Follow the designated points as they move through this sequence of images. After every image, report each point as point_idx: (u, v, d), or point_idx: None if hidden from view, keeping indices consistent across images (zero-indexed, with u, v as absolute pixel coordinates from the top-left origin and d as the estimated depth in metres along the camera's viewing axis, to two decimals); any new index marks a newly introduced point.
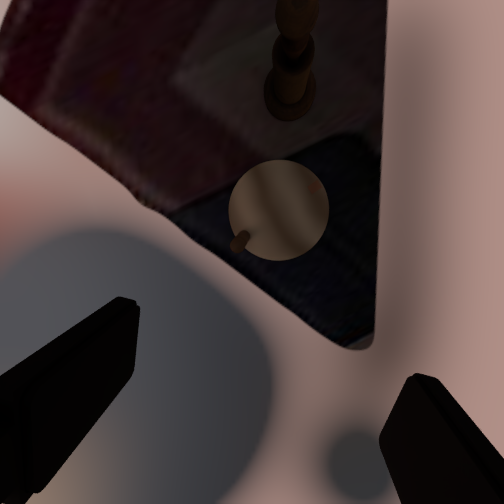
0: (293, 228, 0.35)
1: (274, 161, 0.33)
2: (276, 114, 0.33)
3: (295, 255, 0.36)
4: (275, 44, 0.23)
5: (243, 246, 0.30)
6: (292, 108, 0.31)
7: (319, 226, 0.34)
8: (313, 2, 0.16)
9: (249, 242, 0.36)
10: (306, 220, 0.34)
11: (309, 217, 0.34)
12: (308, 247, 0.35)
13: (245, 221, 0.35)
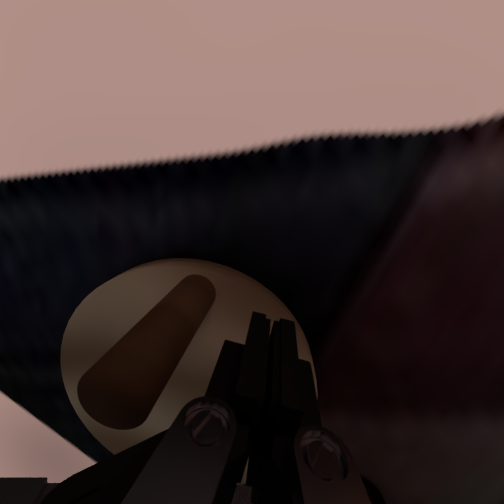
0: None
1: None
2: None
3: (67, 341, 0.13)
4: None
5: (93, 412, 0.06)
6: None
7: (95, 421, 0.14)
8: None
9: (172, 288, 0.12)
10: None
11: None
12: (66, 375, 0.14)
13: (225, 326, 0.12)
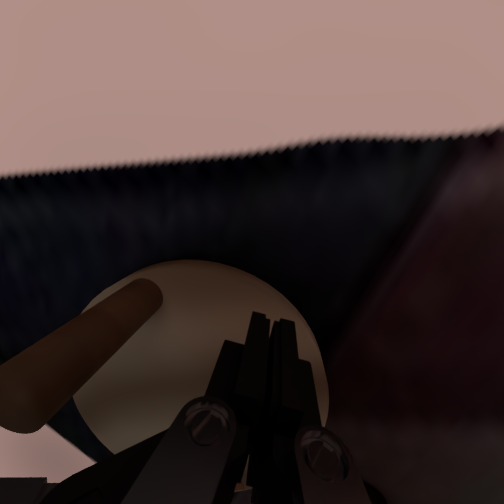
0: (144, 414, 0.14)
1: None
2: None
3: (77, 397, 0.14)
4: None
5: (9, 425, 0.06)
6: None
7: None
8: None
9: None
10: None
11: None
12: (94, 428, 0.14)
13: (186, 314, 0.12)
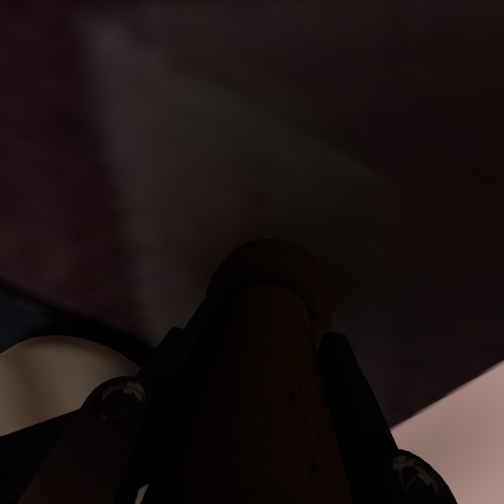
0: None
1: (62, 357, 0.13)
2: None
3: None
4: (199, 501, 0.04)
5: None
6: None
7: None
8: None
9: None
10: None
11: None
12: None
13: None
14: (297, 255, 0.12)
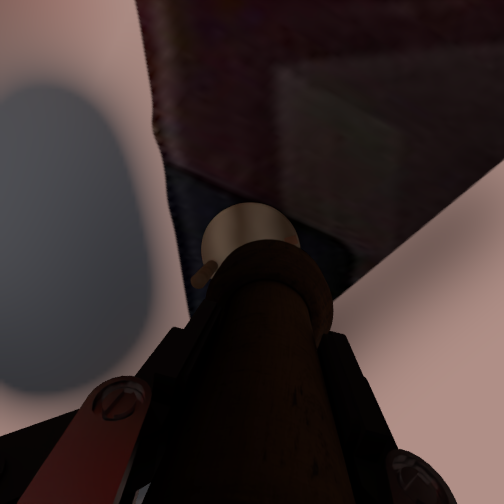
0: None
1: (259, 205, 0.32)
2: None
3: None
4: (201, 503, 0.03)
5: (203, 284, 0.30)
6: None
7: None
8: None
9: None
10: None
11: None
12: None
13: (216, 252, 0.35)
14: (297, 255, 0.12)
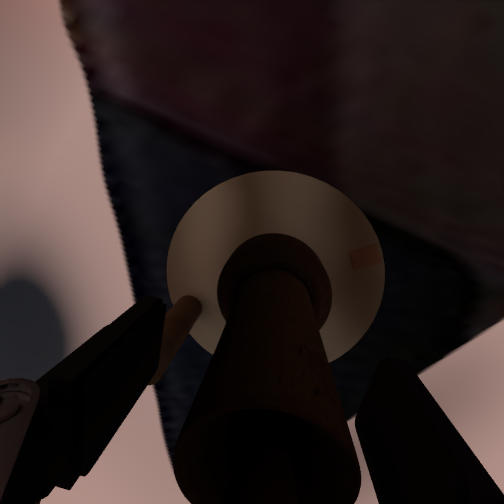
0: None
1: (295, 175, 0.14)
2: None
3: None
4: (235, 407, 0.05)
5: (158, 374, 0.11)
6: None
7: (347, 335, 0.16)
8: None
9: (197, 321, 0.17)
10: None
11: (332, 313, 0.16)
12: None
13: (199, 280, 0.16)
14: (300, 246, 0.13)
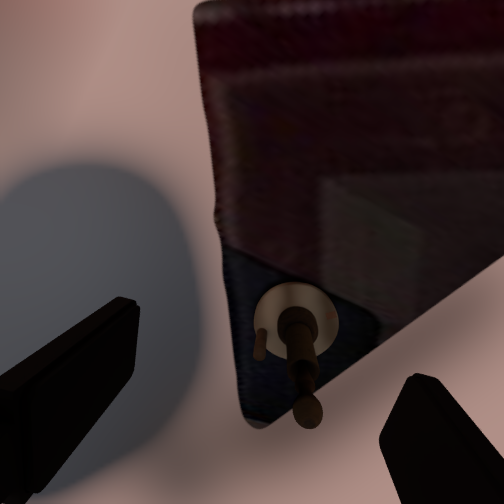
0: None
1: (305, 287, 0.39)
2: None
3: None
4: (299, 359, 0.30)
5: (264, 357, 0.36)
6: None
7: (325, 343, 0.41)
8: None
9: None
10: None
11: (319, 335, 0.41)
12: None
13: (267, 322, 0.42)
14: (307, 314, 0.38)
